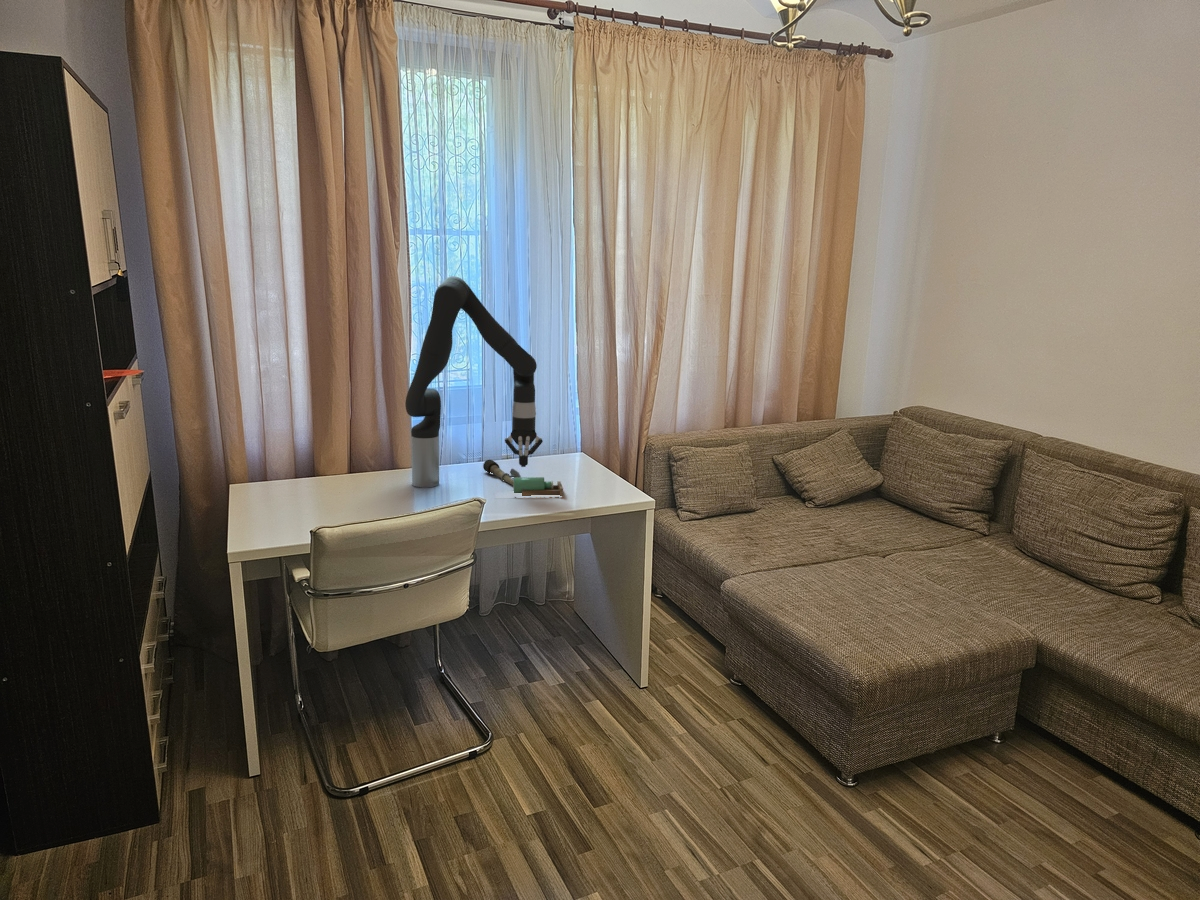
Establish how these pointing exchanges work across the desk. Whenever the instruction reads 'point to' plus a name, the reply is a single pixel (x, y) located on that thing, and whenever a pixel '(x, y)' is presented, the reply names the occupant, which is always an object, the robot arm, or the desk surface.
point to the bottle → (530, 484)
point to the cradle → (545, 491)
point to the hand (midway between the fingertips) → (523, 466)
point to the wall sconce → (500, 471)
